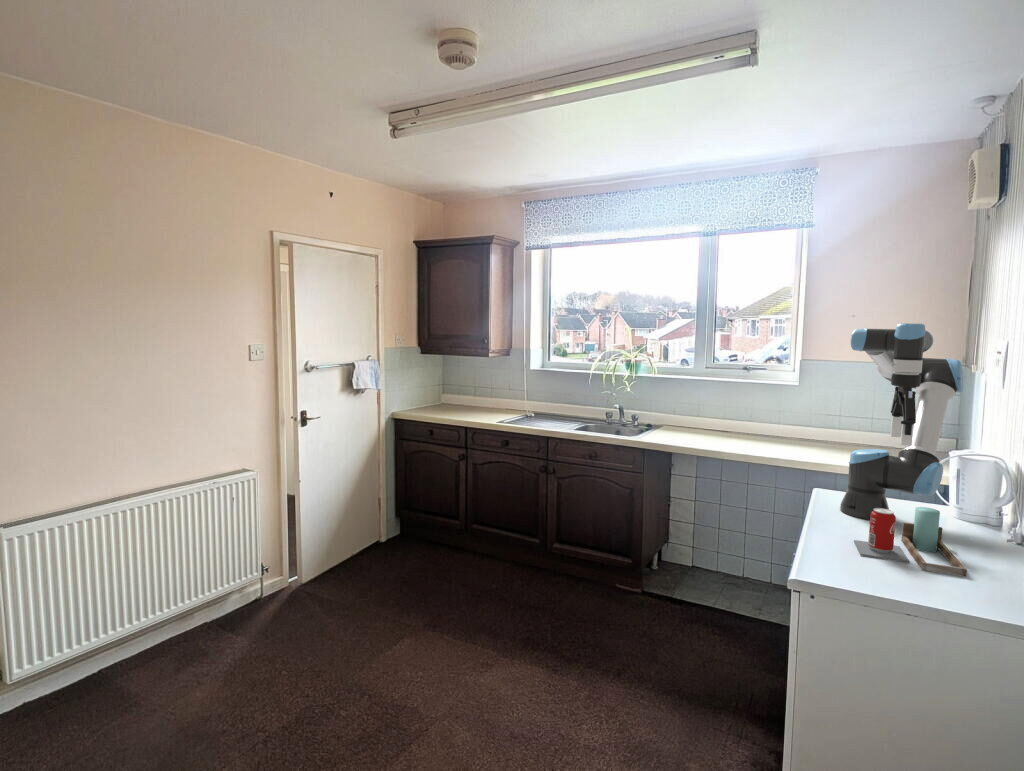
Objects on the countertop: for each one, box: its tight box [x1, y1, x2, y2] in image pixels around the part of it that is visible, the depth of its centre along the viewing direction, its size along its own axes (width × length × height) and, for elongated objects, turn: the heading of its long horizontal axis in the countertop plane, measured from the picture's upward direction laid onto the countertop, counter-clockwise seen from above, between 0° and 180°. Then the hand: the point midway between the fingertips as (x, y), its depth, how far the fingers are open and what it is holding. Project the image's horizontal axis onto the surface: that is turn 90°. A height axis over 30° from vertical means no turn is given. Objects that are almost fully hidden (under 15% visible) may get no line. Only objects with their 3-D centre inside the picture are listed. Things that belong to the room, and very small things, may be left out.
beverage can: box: [867, 508, 897, 553], centre depth 171 cm, size 6×6×12 cm
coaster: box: [853, 539, 910, 564], centre depth 171 cm, size 12×12×1 cm
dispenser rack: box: [901, 522, 968, 577], centre depth 167 cm, size 24×10×6 cm, turn 157°
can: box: [912, 506, 941, 553], centre depth 174 cm, size 6×6×12 cm
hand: (900, 441), depth 180 cm, fingers open, 13 cm apart
